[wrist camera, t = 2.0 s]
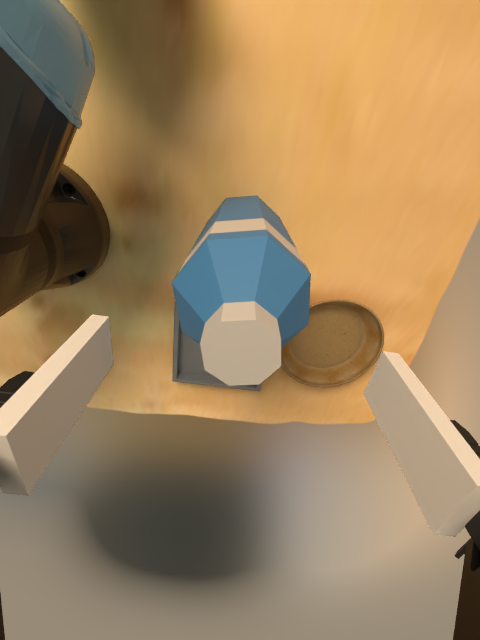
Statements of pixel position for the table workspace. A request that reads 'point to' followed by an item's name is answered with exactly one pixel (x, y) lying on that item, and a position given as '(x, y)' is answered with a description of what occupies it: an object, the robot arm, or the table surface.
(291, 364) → the plant saucer
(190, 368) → the tray
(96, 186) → the table surface
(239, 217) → the water bottle
